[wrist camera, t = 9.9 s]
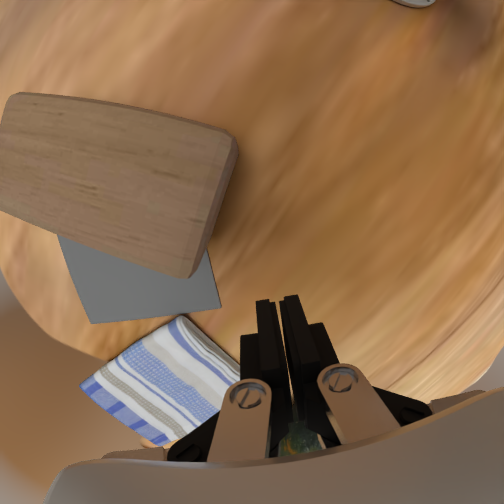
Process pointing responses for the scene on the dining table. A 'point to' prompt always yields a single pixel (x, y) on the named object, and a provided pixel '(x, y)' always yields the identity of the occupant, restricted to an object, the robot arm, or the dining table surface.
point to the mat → (134, 286)
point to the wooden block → (115, 177)
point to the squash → (299, 438)
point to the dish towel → (165, 382)
